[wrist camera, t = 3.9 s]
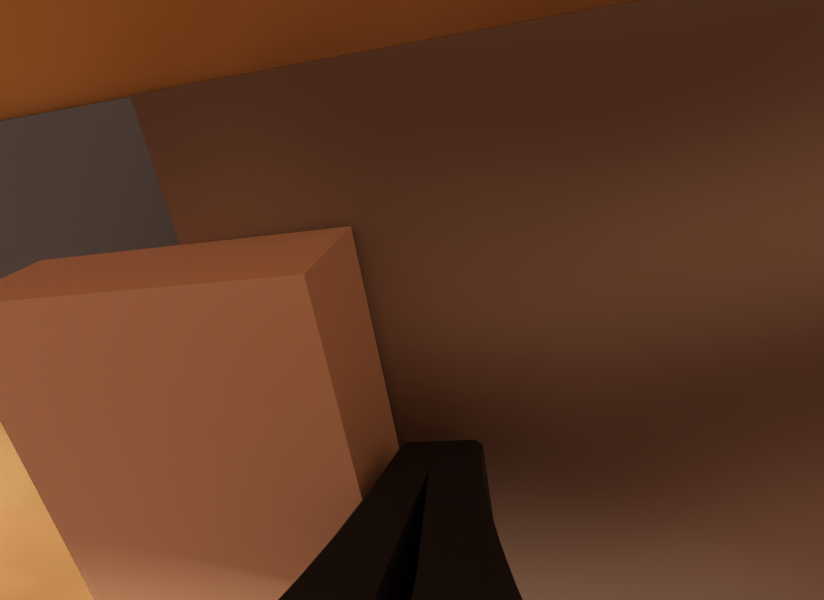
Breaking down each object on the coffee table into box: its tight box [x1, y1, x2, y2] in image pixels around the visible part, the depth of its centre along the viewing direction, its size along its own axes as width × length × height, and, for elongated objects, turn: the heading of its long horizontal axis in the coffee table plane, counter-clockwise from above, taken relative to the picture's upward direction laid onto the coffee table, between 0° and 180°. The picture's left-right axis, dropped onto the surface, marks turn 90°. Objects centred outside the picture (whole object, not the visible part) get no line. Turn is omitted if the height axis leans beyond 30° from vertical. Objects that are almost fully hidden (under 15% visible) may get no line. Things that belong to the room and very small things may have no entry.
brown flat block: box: [130, 0, 824, 600], centre depth 12 cm, size 14×11×4 cm
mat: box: [0, 97, 180, 279], centre depth 16 cm, size 14×9×1 cm, turn 10°
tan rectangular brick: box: [0, 226, 399, 600], centre depth 11 cm, size 9×6×2 cm, turn 10°
